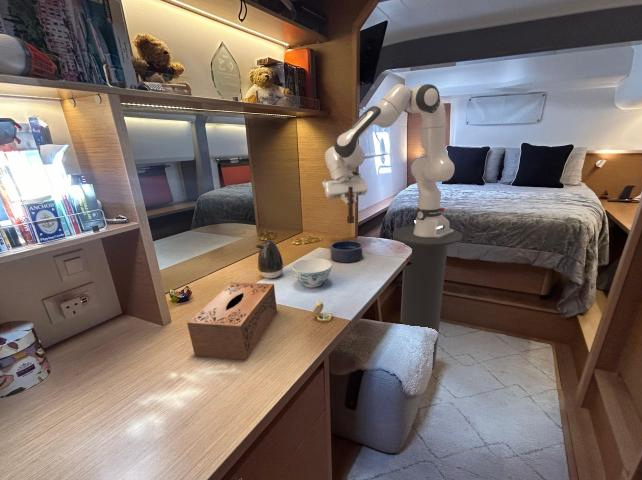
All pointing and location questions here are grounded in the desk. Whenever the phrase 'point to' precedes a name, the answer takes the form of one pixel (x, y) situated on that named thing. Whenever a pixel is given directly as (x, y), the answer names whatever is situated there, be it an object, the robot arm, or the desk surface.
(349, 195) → the stirring stick
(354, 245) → the bowl
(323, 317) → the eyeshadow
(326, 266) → the chinaware
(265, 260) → the pump dispenser
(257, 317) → the tissue box cover
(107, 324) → the desk surface
